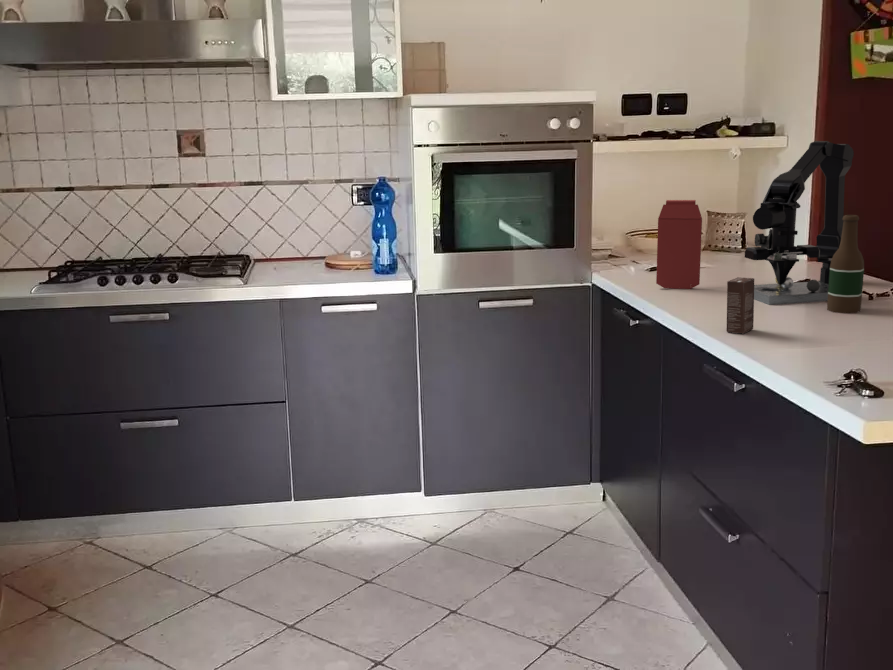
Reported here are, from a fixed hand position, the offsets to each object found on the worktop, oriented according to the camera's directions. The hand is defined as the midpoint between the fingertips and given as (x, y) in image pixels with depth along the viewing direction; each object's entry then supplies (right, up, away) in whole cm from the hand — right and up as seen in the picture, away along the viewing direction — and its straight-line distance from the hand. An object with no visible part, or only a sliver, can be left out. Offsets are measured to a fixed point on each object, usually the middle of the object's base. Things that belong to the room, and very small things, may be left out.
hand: (780, 284), depth 242 cm
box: (-22, -13, -35) cm, 43 cm away
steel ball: (+2, +1, +1) cm, 2 cm away
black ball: (+7, -1, -4) cm, 8 cm away
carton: (-22, 0, +21) cm, 30 cm away
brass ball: (+2, +2, +6) cm, 6 cm away
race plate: (+4, -3, +2) cm, 6 cm away
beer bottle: (+9, -8, -17) cm, 21 cm away
